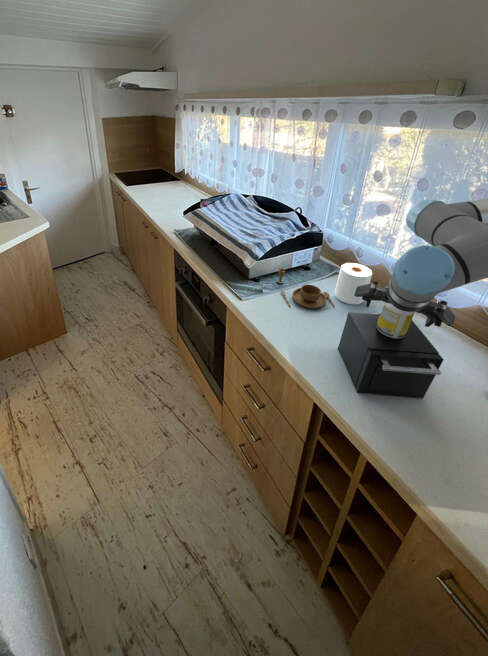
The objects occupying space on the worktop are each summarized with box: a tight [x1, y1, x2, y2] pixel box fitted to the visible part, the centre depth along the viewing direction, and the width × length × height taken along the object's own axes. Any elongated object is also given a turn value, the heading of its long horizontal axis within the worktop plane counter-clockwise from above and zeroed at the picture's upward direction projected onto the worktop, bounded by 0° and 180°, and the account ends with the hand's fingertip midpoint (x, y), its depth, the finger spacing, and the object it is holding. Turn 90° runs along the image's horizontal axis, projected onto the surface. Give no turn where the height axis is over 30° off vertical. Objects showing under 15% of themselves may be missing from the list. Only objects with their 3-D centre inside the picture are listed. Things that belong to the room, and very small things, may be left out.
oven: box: [337, 311, 440, 388], centre depth 83 cm, size 14×16×14 cm
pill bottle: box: [377, 302, 416, 338], centre depth 77 cm, size 6×6×12 cm
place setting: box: [277, 268, 336, 309], centre depth 117 cm, size 18×20×6 cm
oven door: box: [354, 350, 444, 400], centre depth 74 cm, size 5×16×14 cm, turn 83°
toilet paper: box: [334, 262, 373, 305], centre depth 113 cm, size 10×10×12 cm
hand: (397, 311), depth 79 cm, fingers open, 12 cm apart
